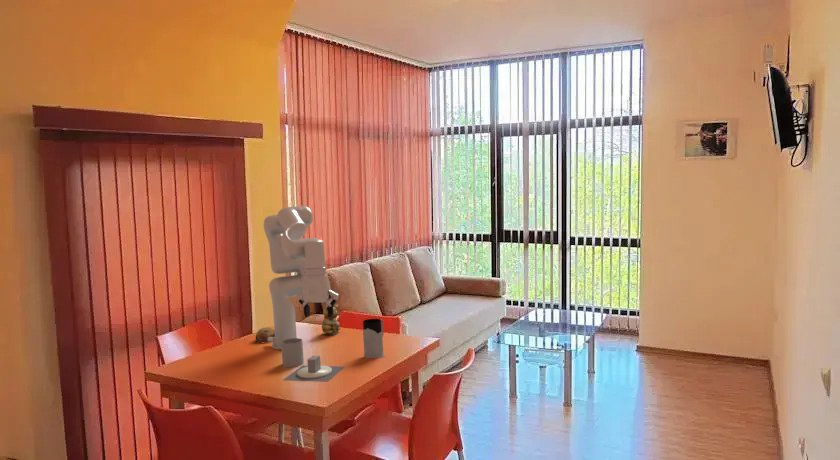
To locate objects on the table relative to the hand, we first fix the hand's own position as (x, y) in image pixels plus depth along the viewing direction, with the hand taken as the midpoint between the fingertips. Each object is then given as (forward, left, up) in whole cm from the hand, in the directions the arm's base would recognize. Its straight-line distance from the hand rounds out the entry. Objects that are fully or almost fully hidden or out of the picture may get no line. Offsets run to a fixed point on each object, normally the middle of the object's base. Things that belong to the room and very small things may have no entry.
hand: (318, 316), depth 241 cm
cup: (-16, +7, -22) cm, 28 cm away
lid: (-2, -4, -21) cm, 21 cm away
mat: (-2, -4, -22) cm, 22 cm away
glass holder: (+14, +24, -22) cm, 36 cm away
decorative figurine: (-20, +57, -22) cm, 65 cm away
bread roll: (-47, +45, -22) cm, 68 cm away
